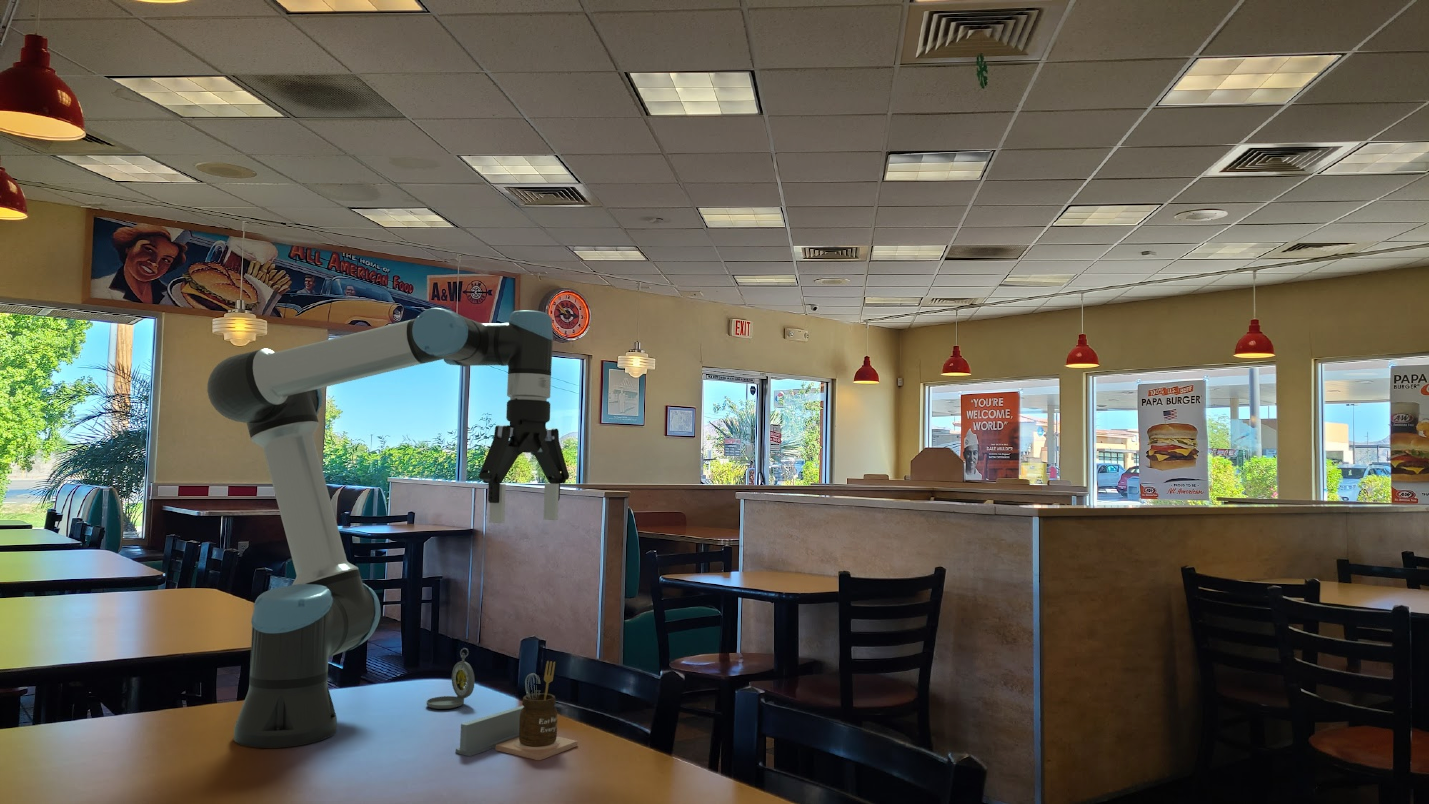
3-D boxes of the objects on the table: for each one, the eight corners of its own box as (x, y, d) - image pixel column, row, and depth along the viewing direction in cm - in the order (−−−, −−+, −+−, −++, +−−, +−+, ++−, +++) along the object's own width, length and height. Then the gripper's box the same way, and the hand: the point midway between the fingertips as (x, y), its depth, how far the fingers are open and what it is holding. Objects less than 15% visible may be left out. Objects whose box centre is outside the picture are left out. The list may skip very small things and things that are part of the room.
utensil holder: (511, 744, 147) (513, 666, 148) (533, 734, 153) (535, 659, 154) (543, 749, 145) (546, 670, 146) (564, 739, 151) (567, 662, 152)
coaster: (495, 750, 147) (495, 744, 147) (534, 736, 155) (534, 731, 155) (539, 760, 143) (539, 754, 143) (577, 746, 150) (577, 740, 150)
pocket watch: (419, 709, 170) (422, 653, 171) (440, 698, 179) (442, 644, 179) (462, 712, 169) (464, 655, 170) (481, 701, 177) (483, 647, 178)
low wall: (455, 752, 146) (456, 723, 146) (534, 726, 161) (535, 699, 161) (469, 756, 144) (470, 726, 144) (548, 729, 159) (548, 702, 160)
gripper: (493, 393, 153) (488, 525, 151) (590, 404, 174) (586, 519, 173) (460, 394, 157) (455, 523, 155) (559, 404, 178) (555, 517, 177)
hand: (524, 521), depth 164 cm, fingers open, 13 cm apart
